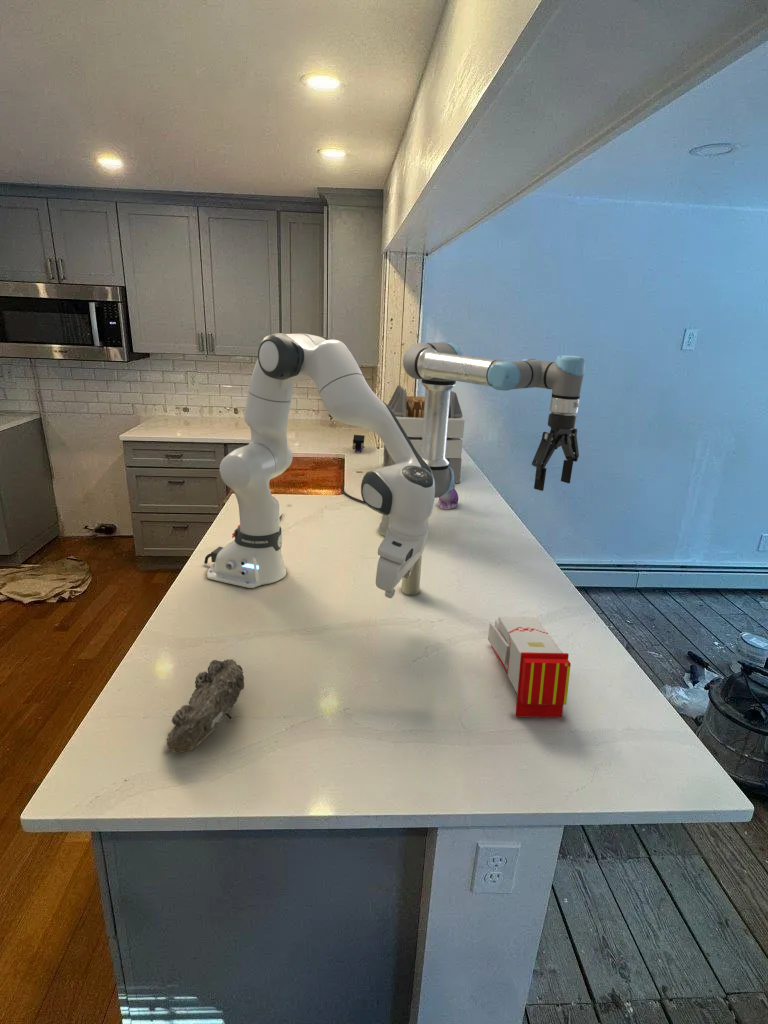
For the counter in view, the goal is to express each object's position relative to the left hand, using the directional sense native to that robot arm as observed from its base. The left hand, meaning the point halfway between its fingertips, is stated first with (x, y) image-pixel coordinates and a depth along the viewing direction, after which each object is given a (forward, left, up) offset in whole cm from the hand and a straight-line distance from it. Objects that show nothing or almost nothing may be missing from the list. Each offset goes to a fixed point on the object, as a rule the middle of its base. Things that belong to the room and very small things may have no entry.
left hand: (397, 585), depth 134 cm
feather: (-52, +69, -13) cm, 88 cm away
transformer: (-8, +145, -13) cm, 146 cm away
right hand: (+39, +45, +15) cm, 61 cm away
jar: (+1, +23, -13) cm, 27 cm away
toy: (+29, -11, -13) cm, 34 cm away
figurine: (+8, +100, -13) cm, 101 cm away
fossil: (-30, -37, -13) cm, 49 cm away
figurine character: (-46, +180, -13) cm, 187 cm away
